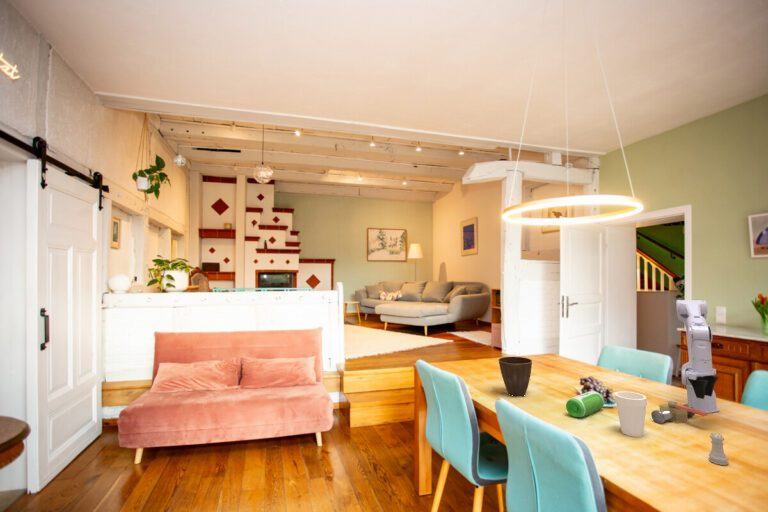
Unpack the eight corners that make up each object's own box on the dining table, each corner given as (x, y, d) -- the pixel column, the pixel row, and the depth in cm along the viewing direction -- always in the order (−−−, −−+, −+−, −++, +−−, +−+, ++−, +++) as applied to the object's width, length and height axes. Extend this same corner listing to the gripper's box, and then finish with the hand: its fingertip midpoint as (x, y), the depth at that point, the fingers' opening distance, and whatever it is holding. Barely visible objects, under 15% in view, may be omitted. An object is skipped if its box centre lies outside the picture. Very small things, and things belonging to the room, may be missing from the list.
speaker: (583, 421, 146) (582, 401, 147) (565, 415, 152) (564, 396, 153) (606, 411, 156) (605, 392, 156) (588, 406, 162) (587, 388, 162)
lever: (666, 405, 146) (666, 401, 146) (671, 404, 147) (671, 401, 147) (702, 416, 134) (702, 412, 134) (707, 415, 135) (707, 411, 135)
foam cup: (633, 440, 128) (631, 401, 129) (610, 429, 137) (608, 393, 138) (655, 436, 131) (653, 397, 131) (631, 426, 140) (629, 390, 140)
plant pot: (521, 402, 169) (519, 365, 170) (493, 394, 181) (491, 359, 182) (540, 395, 178) (538, 360, 179) (512, 387, 190) (511, 355, 191)
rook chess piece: (708, 457, 116) (706, 430, 116) (728, 461, 113) (726, 433, 113) (708, 463, 112) (706, 435, 113) (729, 467, 109) (727, 438, 110)
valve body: (681, 413, 150) (680, 401, 151) (698, 419, 145) (697, 406, 145) (649, 420, 145) (648, 407, 145) (665, 425, 139) (664, 412, 140)
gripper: (699, 354, 146) (701, 390, 145) (677, 359, 140) (680, 397, 139) (721, 357, 140) (724, 395, 139) (700, 362, 133) (703, 402, 133)
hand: (704, 396), depth 139 cm, fingers open, 5 cm apart
